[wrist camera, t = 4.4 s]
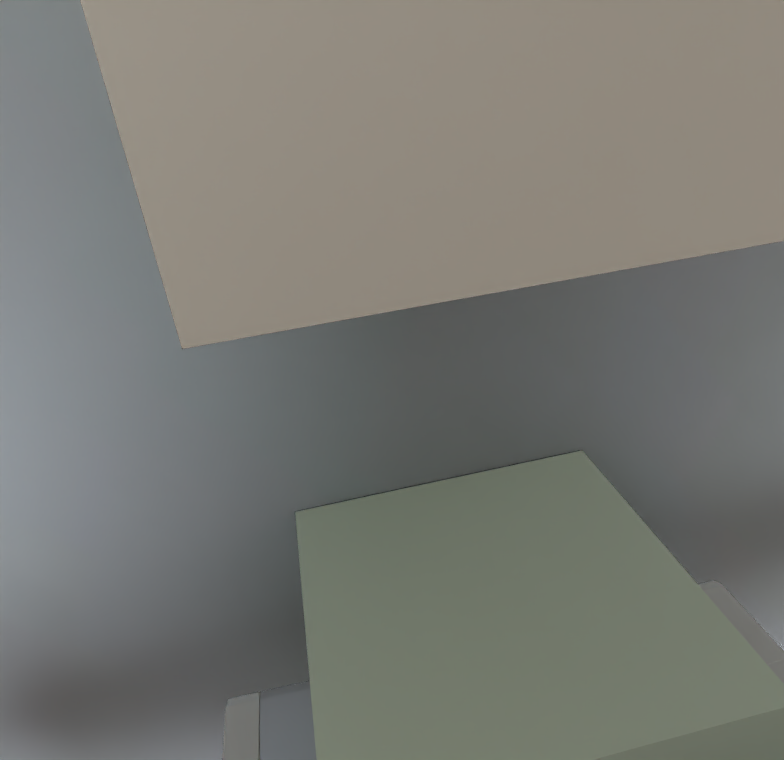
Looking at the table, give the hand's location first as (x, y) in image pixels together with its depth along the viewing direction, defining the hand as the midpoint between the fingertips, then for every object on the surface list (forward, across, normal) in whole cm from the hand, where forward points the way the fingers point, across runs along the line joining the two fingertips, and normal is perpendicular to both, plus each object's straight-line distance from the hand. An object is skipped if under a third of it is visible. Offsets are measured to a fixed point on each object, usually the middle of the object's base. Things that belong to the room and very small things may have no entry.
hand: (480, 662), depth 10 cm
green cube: (+2, 0, 0) cm, 2 cm away
